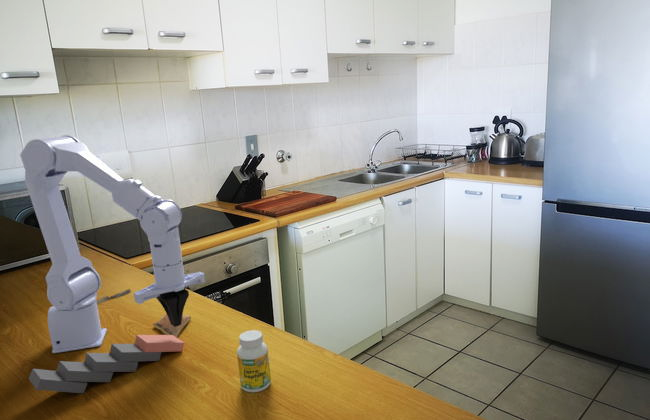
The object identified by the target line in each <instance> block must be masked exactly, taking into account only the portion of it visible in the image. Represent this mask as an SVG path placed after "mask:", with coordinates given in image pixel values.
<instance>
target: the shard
mask: <svg viewBox="0 0 650 420" xmlns="http://www.w3.org/2000/svg"><path fill="white" fill-rule="evenodd" d="M191 320H192V316H191V315H189V314H188V315H187V314H182V321H181V325H179V326H177V327H174V326H173V325H171V323H170V320H169V318H168V316H167V313H166V314H163V315H162V316H161V318H160V319H158V321H156V322H154V323H153V325H152V326H153V327H154V328H155V329H157V330H159V331H160V332H162V333H163V335H173V336H175V337H176V338H178V337H179V335H180V334H181V332H182V331H183V329H184V328H185V326H187V324H188V323H190V321H191Z"/></svg>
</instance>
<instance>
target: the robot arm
mask: <svg viewBox="0 0 650 420" xmlns="http://www.w3.org/2000/svg"><path fill="white" fill-rule="evenodd" d="M19 155H20V158H21V161H22V165H23V167H24V171H25V172H24V180H25V181H24V182H25V186H26V188H27V191H28V194H29V197H30V201H31V204H32V207H33V210H34V212H35V216H36V219H37V221H38V224H39V229H40V231H41V234H42V236H43V239H44V242H45V245H46V249H47V251H48V255H49V258H50V261H51V264H52V265H51V266H50V268H49V270H48V272H47V273H46V276H45V281H46V287H47V288H46V289H47V290H46V297H47V299H48V301H49V302H50V304H51V305H52V306H50V307H49V309H48V311H47V326H48V332H49V338H50V342H51V346H52V350H51V353H52V354H57V353H64V352H71V351H77V350H83V349H89V348H90V349H91V348H96V347H100V346H101V345H102V343H103V341H104V339H105V336H106V333H107V331H108V330H107V328H105V327H104V328H102V325H101V321H100V313H99V309H98V305H97V302H96V300H97V297H98V291H99V290H100V288H101V286H102V285H101V284H102V279H101V276H100V274H99V273H98V271H97V270H96V269H95V268H94V266H93V262H92V260H90V259H89V258H86V257H84V256H82V255H81V253H80V248H79V246H78V242H77V240H76V236H75V233H74V230H73V226H72V223H71V221H70V218H69V214H68V211H67V208H66V204H65V202H64V199H63V196H62V193H61V189H60V186H59V184H60V183H61V181H62V180H63V178H64V177H65V175H66V174H67V173H68V172H77V173H79V174H81V175H82V176H84V177H85V178H87V179H89V180H90V181H92V182H94V183H96V184H97V185H98V186H100V187H102V188H103V189H104V190H107V191H108V192H109V193H111V196H112V202H113V203H115V204H116V205H117V206H119V207H120V208H122V209H123V210H125V211H126V212H127V213H128V214H130V215H131V216H133V217H134V218H135V219H137V220H138V221H139V223H140V225H139V226H140V228H141V229H142V230H143V232H144V233H145V234H146V235H147V236H146V237H147V239H148V240H147V241H148V242H149V247H150V256H151V263H152V268H153V276H154V283H152V284H150V285H148V286H146V287H144V288H142V289H140V290H139V289H138V291H134V292H133V298H134V303H136V304H138V305H141V304H144V303H145V302H146V301H148V300H152V299H156V300H157V301H158V302H159V303H160V305H161V306H162V308H163V310H164V312H165V313H166V314H167V316H168V318H169V320H170V323H171V325H173V326H174V327H177V326H179V325H181V321H182V314H183V313H184V309H185V306H186V303H187V300H188V298H189V296H190V292H189V290H187V289H186V288H188V287H191V286H193V285H197V284H203V283H205V282H206V277H205V273H204V272H201V271H197V272H194V273H188V274H185V271H184V270H185V269H184V264H183V254H182V246H181V238H180V231H179V225H180V223H181V222H182V219H183V212H182V210H181V208H180V206H179V205H178V204H177V203H176V201H173V200H172V199H162V196H160V195H156V194H154V193H153V192H151V191H150V190H149V189H147V188H146V187H145V186H143V182H142V181H140V180H139V179H136V180H135V179H133V178H128V179H124V178H122V177H121V176H120V175H119V174H118V173H116V172H115V171H114V170H112V169H111V168H110V167H108V165H106V164H105V163H104V162H102V160H100V159H99V158H98V157H96V156H95V155H94V154H93V153H92V152H90V150H89V148H88V146H87V145H86V143H83V142H82V141H79V139H78V138H76V137H75V136H73V135H69V134H68V135H67V134H65V135H61V136H58V137H57V136H55V137H49V138H43V139H42V138H41V139H39V138H36V139H31V140H29V141H28V142H27V143H26V145H24V148H23V149H22V151H21V152H20V154H19Z"/></svg>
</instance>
